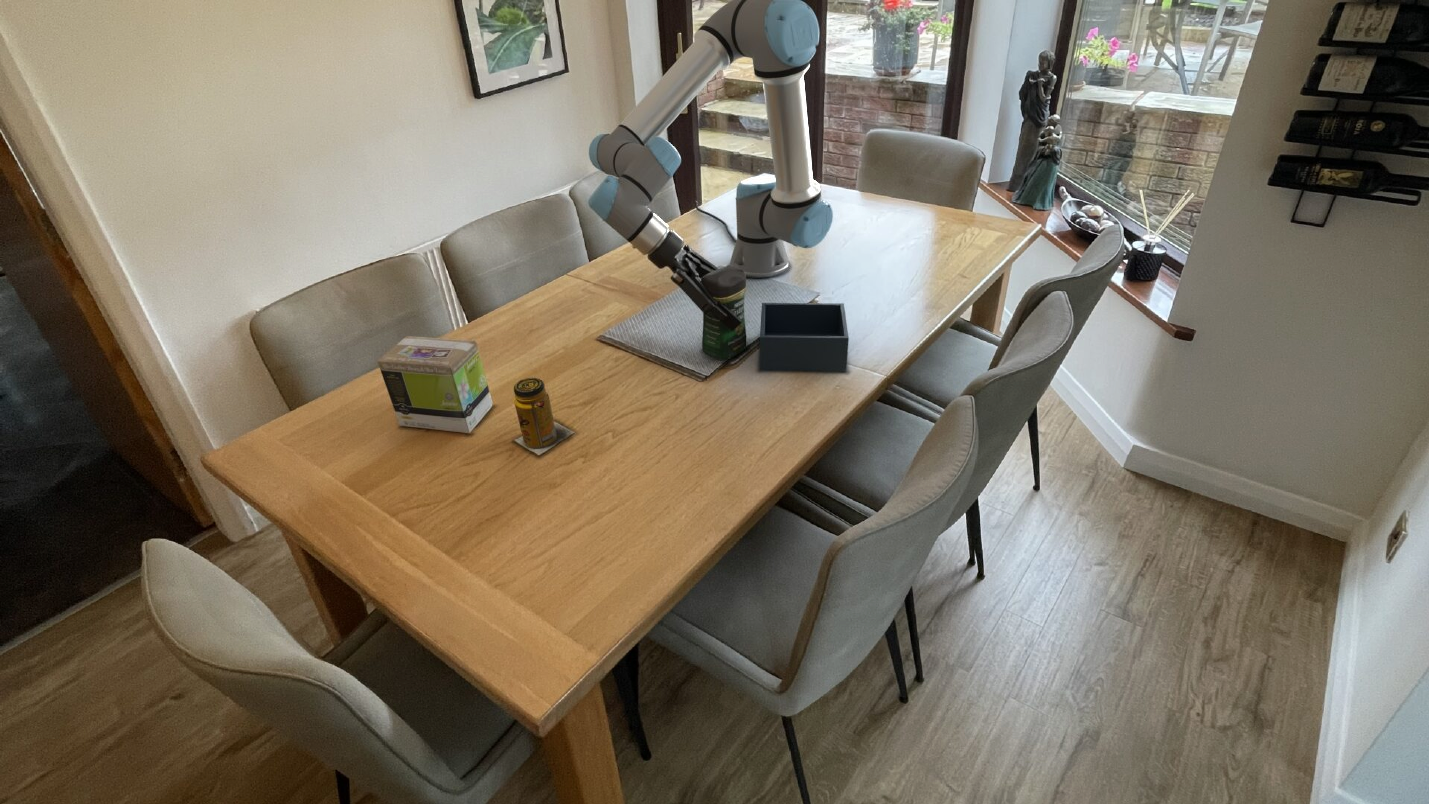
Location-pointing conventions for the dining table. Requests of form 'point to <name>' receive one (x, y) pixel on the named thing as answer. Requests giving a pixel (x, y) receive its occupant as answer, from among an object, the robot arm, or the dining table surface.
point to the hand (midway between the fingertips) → (738, 314)
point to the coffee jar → (731, 293)
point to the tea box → (436, 383)
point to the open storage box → (803, 337)
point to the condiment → (536, 417)
